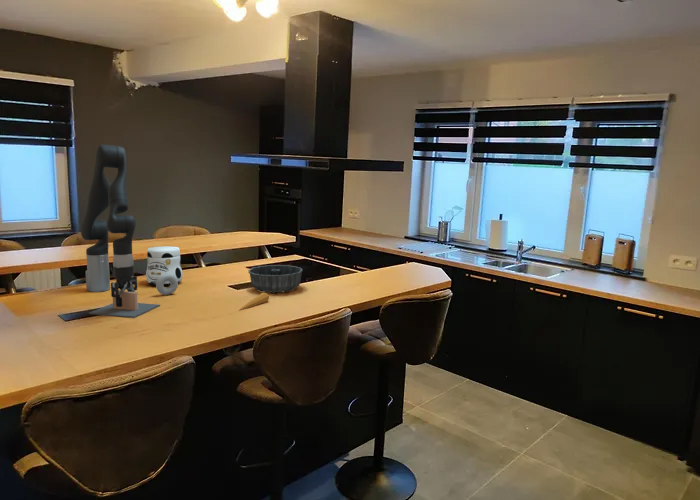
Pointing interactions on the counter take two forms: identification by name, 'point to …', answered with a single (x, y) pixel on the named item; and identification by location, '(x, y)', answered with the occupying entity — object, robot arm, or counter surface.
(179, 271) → the milk container
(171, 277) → the donut
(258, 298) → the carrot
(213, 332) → the counter surface
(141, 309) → the mat
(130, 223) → the robot arm
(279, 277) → the bundt pan
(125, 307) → the tile
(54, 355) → the counter surface
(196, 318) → the counter surface
